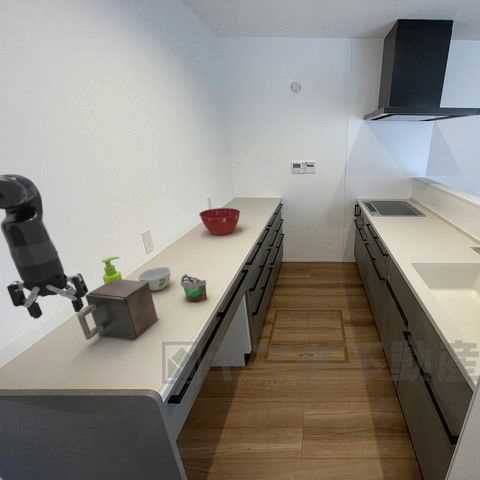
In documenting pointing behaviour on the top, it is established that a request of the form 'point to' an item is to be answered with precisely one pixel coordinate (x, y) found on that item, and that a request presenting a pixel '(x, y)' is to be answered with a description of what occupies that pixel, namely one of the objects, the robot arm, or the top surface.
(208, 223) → the mixing bowl
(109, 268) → the soap dispenser
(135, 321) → the cupboard
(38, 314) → the robot arm
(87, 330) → the door
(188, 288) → the food container
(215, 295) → the top surface
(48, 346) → the top surface
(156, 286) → the teacup
